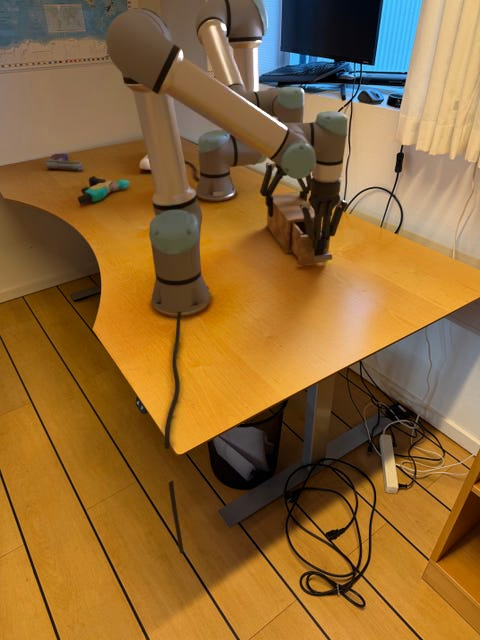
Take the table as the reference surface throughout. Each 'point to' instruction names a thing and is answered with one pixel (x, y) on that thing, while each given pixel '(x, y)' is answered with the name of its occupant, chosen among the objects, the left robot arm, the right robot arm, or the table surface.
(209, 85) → the left robot arm
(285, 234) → the cabinet
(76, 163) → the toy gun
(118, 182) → the toy gun
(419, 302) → the table surface
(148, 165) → the sneaker
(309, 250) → the drawer
